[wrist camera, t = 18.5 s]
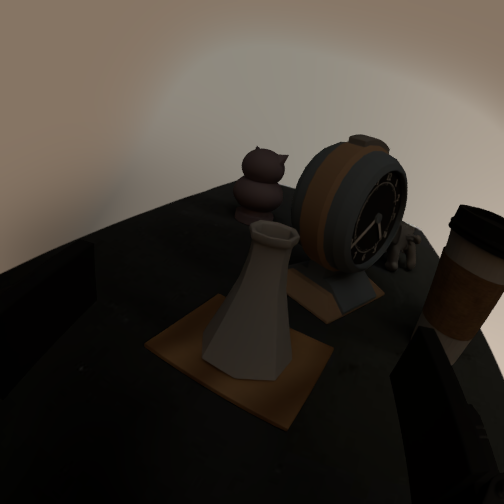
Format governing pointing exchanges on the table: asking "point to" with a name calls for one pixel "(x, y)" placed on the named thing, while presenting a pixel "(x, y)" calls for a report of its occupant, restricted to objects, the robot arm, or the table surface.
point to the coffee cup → (466, 279)
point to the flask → (255, 310)
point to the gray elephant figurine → (403, 247)
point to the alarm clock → (344, 224)
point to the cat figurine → (259, 186)
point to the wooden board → (244, 390)
